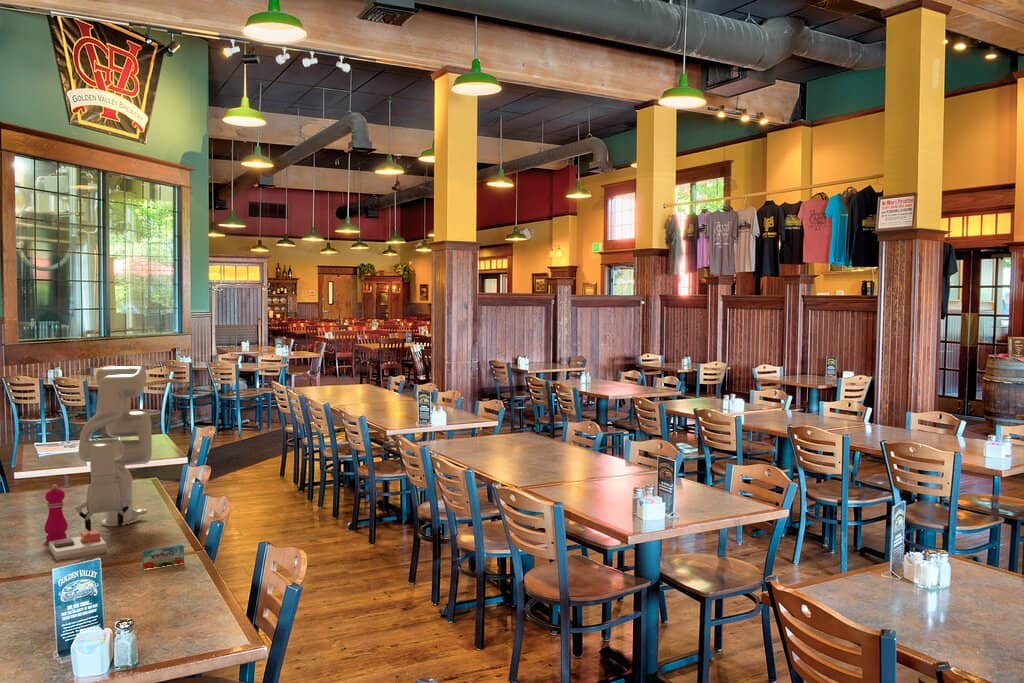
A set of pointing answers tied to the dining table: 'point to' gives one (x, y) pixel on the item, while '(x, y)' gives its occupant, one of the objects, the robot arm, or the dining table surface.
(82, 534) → the button red
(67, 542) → the button black
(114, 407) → the robot arm
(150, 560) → the blue printed product box
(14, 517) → the dining table surface
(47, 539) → the pepper mill
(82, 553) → the switch panel
